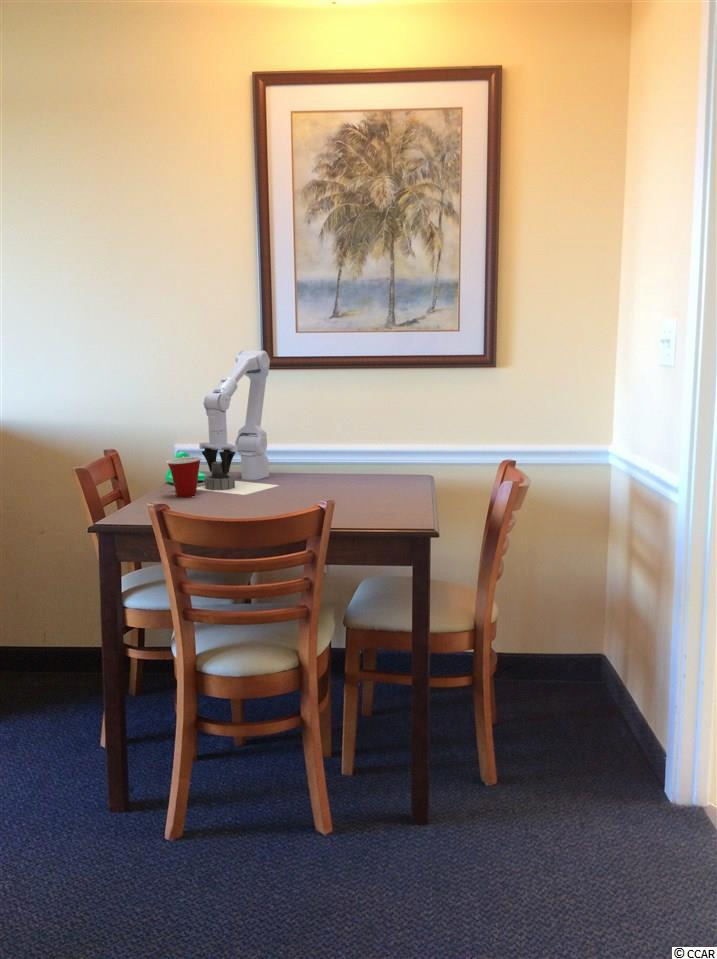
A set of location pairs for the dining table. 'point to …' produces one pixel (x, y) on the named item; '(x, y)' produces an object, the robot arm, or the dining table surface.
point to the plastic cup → (185, 475)
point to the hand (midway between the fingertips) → (219, 472)
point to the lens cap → (217, 469)
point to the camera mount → (168, 475)
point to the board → (232, 485)
